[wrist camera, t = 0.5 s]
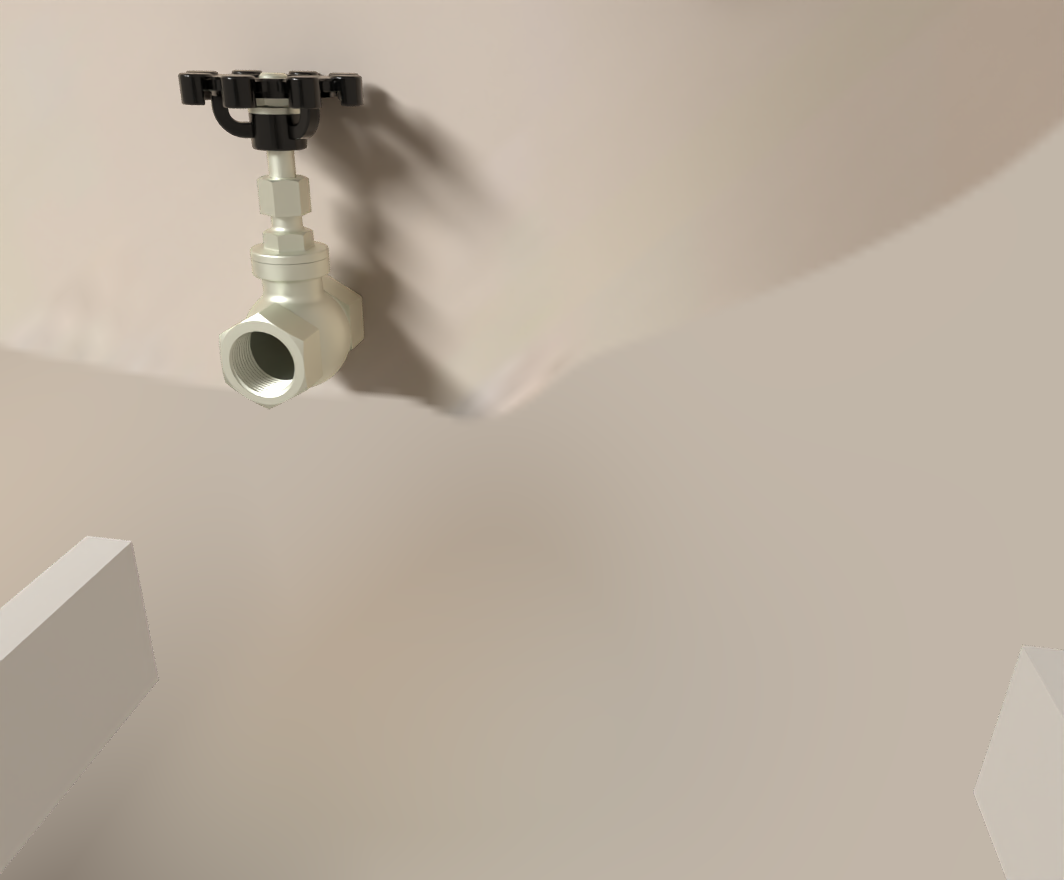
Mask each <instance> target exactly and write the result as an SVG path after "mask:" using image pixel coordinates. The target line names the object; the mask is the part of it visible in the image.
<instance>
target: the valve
mask: <svg viewBox="0 0 1064 880" xmlns="http://www.w3.org/2000/svg"><path fill="white" fill-rule="evenodd" d="M178 78H179V85H180V92H181V100H182V103H183V104H185V105H205V100H211V105H212V110H213V113H214V116H215V118H216V120H217V121H218V123H219V124H220V125H221V126H222V128H223V129H224V130H226V131H227V132H229V133H230V134H232V135H234V136H237V137H241V138H251V141H252V147H253V148H254V149H256V150H263V151H267V161H268V171H269V175H265V176H261V177H259V178H258V179H257V187H258V197H259V206H260V214H263V215H268V216H271V223H272V227H271V228H269V229H267V230H265V231H264V232H263V233H262V234H263V243H260V244H257V245H254V246H253V247H251V249H250V256H251V266H252V273H253V275H254V276H255V277H257V278H259V279H262V285H263V295H262V297H261V298H259V299H258V300H257V302H256V303H255V304H254V305H253V306H252V308H251V309H250V311H249V313H248V315H247V317H246V319H245V320H243V321H241V322H239V323H238V324H236V325H234V326H233V327H231V328H230V329H228V330H226V331H225V332H223V333H221V334H220V335H219V345H220V358H221V365H222V370H223V375H224V378H225V382H226V383H227V384H228V385H229V386H230V387H232V388H233V389H234V390H236V391H237V392H239V393H240V394H241V395H243V396H244V397H246V398H248V399H250V400H251V401H253V402H255V403H257V404H259V405H261V406H263V407H265V408H268V409H271V408H273V407H275V406H277V405H279V404H281V403H283V402H285V401H287V400H289V399H291V398H293V397H295V396H297V395H299V394H301V393H302V392H304V391H306V390H308V389H309V388H310V387H314V386H317V385H319V384H321V383H323V382H325V381H327V380H328V379H330V378H331V377H332V376H334V374H335V373H336V372H337V371H338V370H339V369H340V368H341V366H342V365H343V363H344V362H345V360H346V358H347V355H348V352H349V351H350V350H352V349H353V348H354V347H356V346H357V345H358V344H359V343H360V342H361V341H362V340H363V339H364V325H363V308H362V297H361V296H360V295H359V294H357V293H356V292H354V291H352V290H351V289H349V288H348V287H346V286H345V285H343V284H341V283H340V282H338V281H337V280H335V279H333V278H332V277H330V276H329V275H327V274H328V273H329V272H330V261H329V248H328V246H327V245H326V244H324V243H321V242H317V241H314V237H313V231H312V230H311V229H309V228H306V227H304V226H303V222H302V216H303V215H305V214H307V213H310V212H311V200H310V188H309V178H307V177H305V176H302V175H296V168H295V157H294V150H302V149H306V148H307V139H308V138H310V137H312V136H313V135H314V133H315V132H316V130H317V127H318V124H319V118H320V108H321V107H322V100H321V98H326V97H335V96H337V92H338V99H339V100H340V101H341V105H342V106H362V105H363V87H362V77H361V76H359V75H358V74H357V73H330V74H329V76H322V75H318V72H316V71H290V72H289V74H285V73H262V72H261V71H259V70H233V71H232V74H218V72H216V71H187V72H186V73H179V75H178ZM228 108H248V112H249V122H240V121H236V120H234V119H233V118H232V117H231V116H230V114H229V111H228Z"/></svg>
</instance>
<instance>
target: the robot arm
mask: <svg viewBox="0 0 1064 880" xmlns="http://www.w3.org/2000/svg"><path fill="white" fill-rule="evenodd" d="M158 681H159V677H158V673H157V667H156V662H155V657H154V652H153V647H152V641H151V636H150V631H149V626H148V621H147V616H146V611H145V606H144V601H143V596H142V590H141V586H140V580H139V575H138V570H137V565H136V559H135V555H134V549H133V544H132V541H127V540H118V539H109V538H101V537H92V536H86V537H85V538H84V539H82V540H81V541H80V542H79V543H78V544H77V545H75V546H74V547H73V548H72V549H71V550H69V551H68V552H67V553H66V554H65V555H63V556H62V557H61V558H60V559H59V560H57V561H56V562H55V563H54V564H53V565H51V566H50V567H49V568H48V569H47V570H46V571H44V572H43V573H42V574H41V575H39V576H38V577H37V578H36V579H35V580H34V581H32V582H31V583H30V584H29V585H28V586H26V587H25V588H24V589H23V590H21V591H20V592H19V593H18V594H17V595H16V596H14V597H13V598H12V599H11V600H10V601H9V602H7V603H6V604H5V605H4V606H2V607H1V608H0V874H1V873H2V872H3V870H4V869H5V868H6V867H7V865H8V864H9V863H10V862H11V861H12V859H13V858H14V857H15V856H16V854H17V853H18V852H19V851H20V850H21V848H22V847H23V846H24V845H25V844H26V842H27V841H28V840H29V839H30V837H31V836H32V835H33V833H35V831H36V830H37V829H38V828H39V826H40V825H41V824H42V823H43V821H44V820H45V819H46V817H48V815H49V814H50V813H51V812H52V810H53V809H54V808H55V807H56V806H57V804H58V803H59V802H60V801H61V799H62V798H63V797H64V796H65V795H66V793H67V792H68V791H69V790H70V788H71V787H72V786H73V785H74V783H75V782H76V781H77V780H78V778H79V777H80V776H81V775H82V774H83V772H84V771H85V770H86V769H87V768H88V766H89V765H90V764H91V763H92V761H93V760H94V759H95V758H96V756H97V755H98V754H99V753H100V752H101V750H102V749H103V748H104V747H105V745H106V744H107V743H108V742H109V741H110V739H111V738H112V737H113V736H114V734H115V733H116V732H117V731H118V729H119V728H120V727H121V726H122V725H123V723H124V722H125V721H126V720H127V718H128V717H129V716H130V715H131V714H132V712H133V711H134V710H135V709H136V707H137V706H138V705H139V704H140V702H141V701H142V700H143V699H144V698H145V696H146V695H147V694H148V693H149V692H150V690H151V689H152V688H153V687H154V685H155V684H156V683H157V682H158ZM973 794H974V797H975V799H976V802H977V804H978V807H979V809H980V812H981V815H982V817H983V820H984V823H985V825H986V828H987V831H988V833H989V836H990V838H991V841H992V844H993V846H994V849H995V852H996V854H997V857H998V859H999V862H1000V865H1001V867H1002V870H1003V873H1004V875H1005V878H1006V880H1064V650H1062V649H1053V648H1044V647H1036V646H1027V645H1022V648H1021V651H1020V654H1019V657H1018V660H1017V663H1016V666H1015V669H1014V672H1013V674H1012V677H1011V681H1010V683H1009V687H1008V690H1007V692H1006V695H1005V698H1004V702H1003V705H1002V707H1001V710H1000V713H999V716H998V719H997V722H996V725H995V729H994V731H993V734H992V737H991V740H990V743H989V746H988V749H987V752H986V755H985V758H984V761H983V765H982V767H981V770H980V773H979V776H978V779H977V782H976V785H975V788H974V791H973Z"/></svg>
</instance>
